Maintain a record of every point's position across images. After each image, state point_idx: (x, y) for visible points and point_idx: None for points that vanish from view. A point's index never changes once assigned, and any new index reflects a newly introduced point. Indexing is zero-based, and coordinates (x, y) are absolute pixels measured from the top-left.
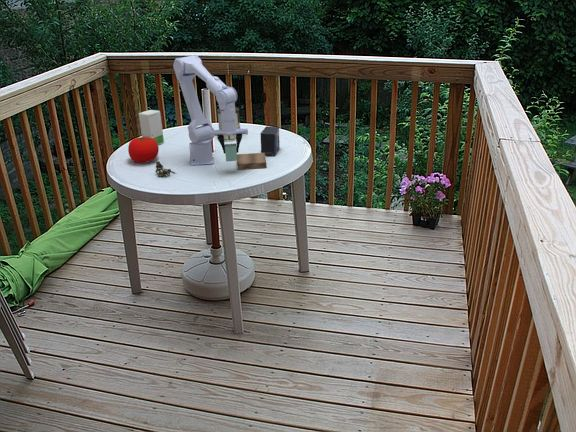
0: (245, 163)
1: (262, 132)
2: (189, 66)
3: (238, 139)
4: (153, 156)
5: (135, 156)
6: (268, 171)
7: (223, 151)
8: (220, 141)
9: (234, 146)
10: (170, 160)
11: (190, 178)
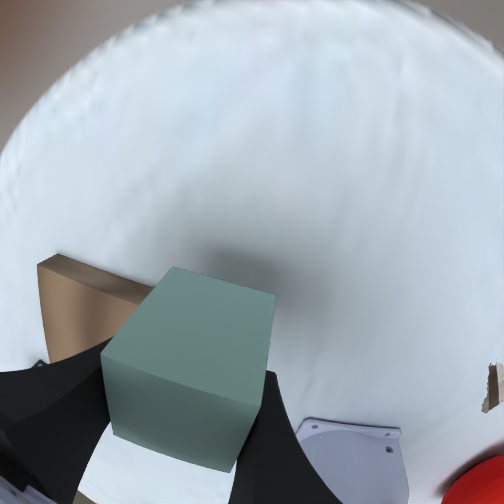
0: (133, 304)
1: None
2: None
3: (10, 394)
4: (485, 471)
5: None
6: (53, 202)
7: (278, 387)
8: (314, 493)
9: (120, 360)
10: (427, 470)
11: (482, 284)
